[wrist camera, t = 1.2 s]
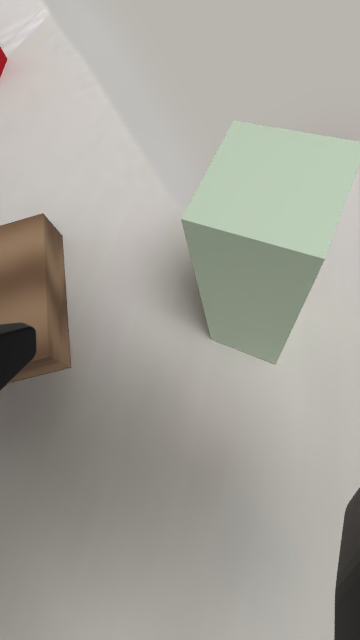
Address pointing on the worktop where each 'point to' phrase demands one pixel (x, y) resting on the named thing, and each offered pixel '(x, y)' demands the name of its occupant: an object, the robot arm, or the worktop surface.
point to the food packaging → (2, 60)
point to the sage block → (265, 230)
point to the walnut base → (35, 290)
